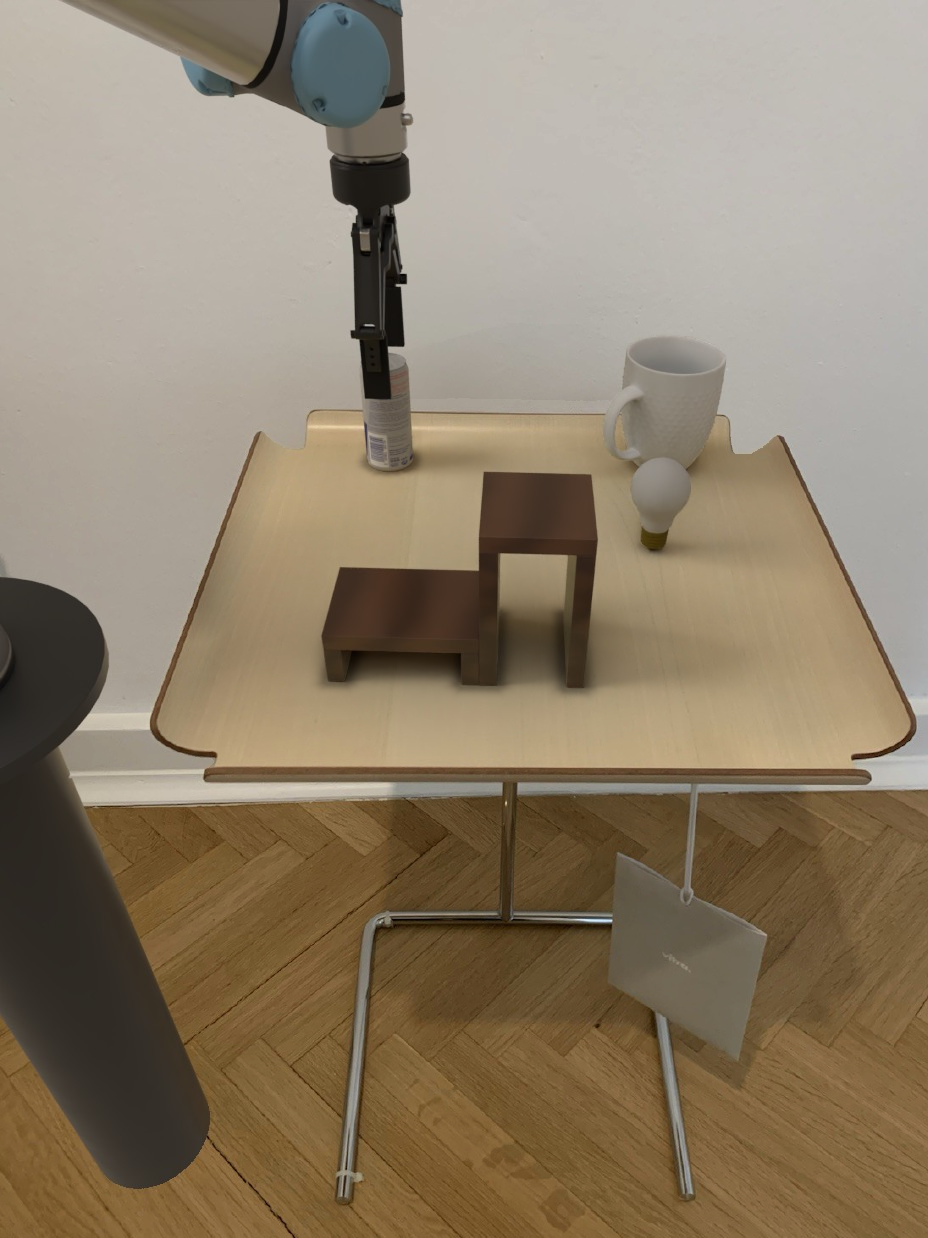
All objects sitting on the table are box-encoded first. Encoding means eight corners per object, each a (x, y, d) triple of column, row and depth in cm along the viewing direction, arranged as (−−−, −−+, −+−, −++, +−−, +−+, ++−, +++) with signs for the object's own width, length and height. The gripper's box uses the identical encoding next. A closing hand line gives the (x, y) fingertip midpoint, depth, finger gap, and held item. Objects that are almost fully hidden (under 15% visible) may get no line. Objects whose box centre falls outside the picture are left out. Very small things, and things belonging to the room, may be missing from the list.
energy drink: (397, 446, 113) (390, 347, 105) (422, 463, 110) (417, 363, 102) (358, 458, 111) (349, 359, 103) (383, 477, 107) (375, 375, 100)
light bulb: (676, 568, 95) (691, 480, 88) (618, 558, 96) (628, 470, 89) (684, 538, 99) (699, 451, 92) (629, 529, 100) (639, 442, 94)
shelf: (327, 681, 81) (306, 532, 71) (344, 610, 88) (327, 467, 79) (583, 688, 81) (597, 539, 71) (579, 617, 88) (591, 473, 79)
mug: (634, 505, 104) (647, 392, 95) (570, 465, 110) (577, 356, 102) (727, 466, 111) (748, 358, 102) (662, 431, 117) (676, 326, 109)
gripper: (394, 190, 80) (408, 423, 94) (420, 124, 98) (429, 327, 112) (305, 188, 80) (333, 421, 94) (348, 123, 98) (366, 325, 113)
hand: (385, 370), depth 103 cm, fingers open, 13 cm apart
